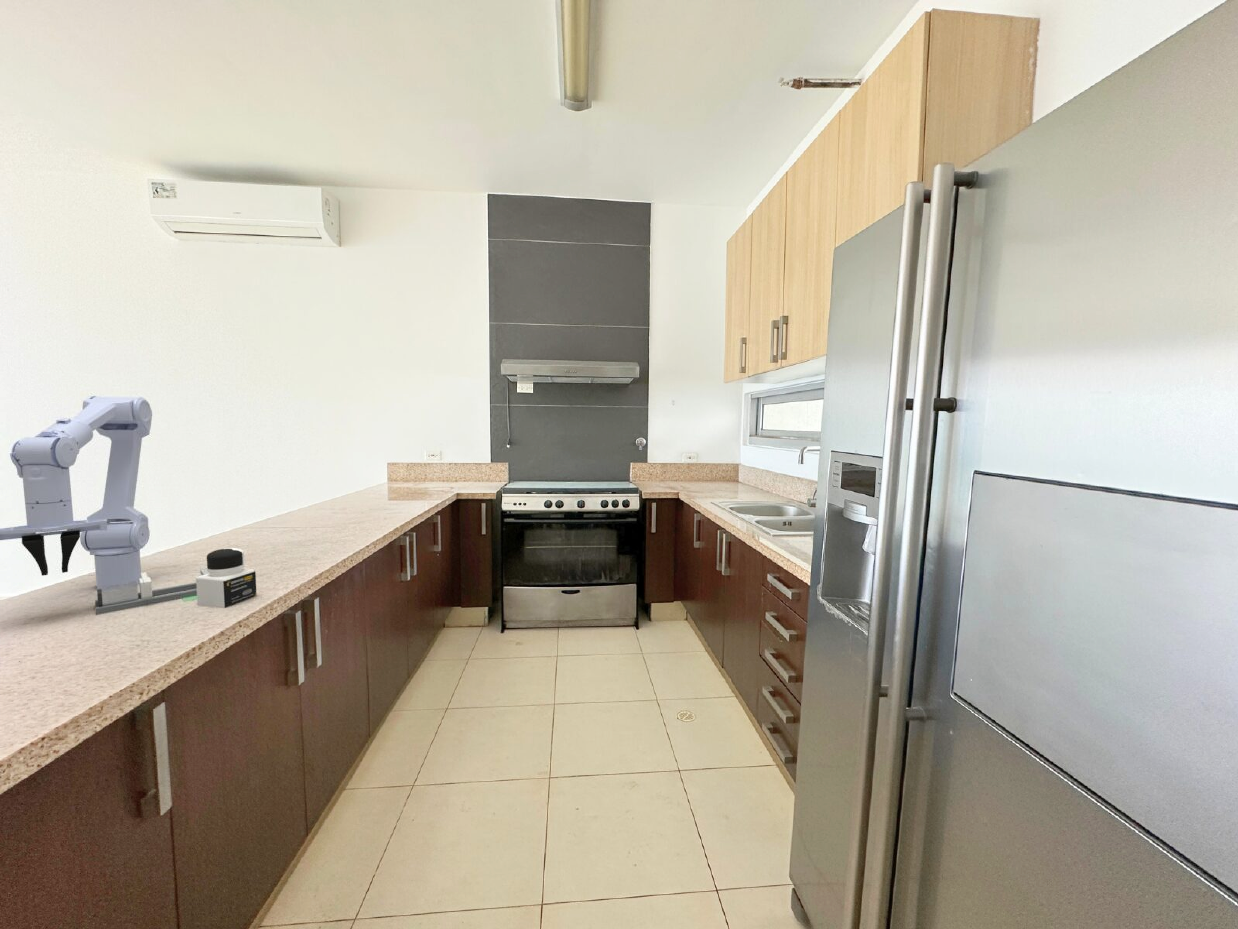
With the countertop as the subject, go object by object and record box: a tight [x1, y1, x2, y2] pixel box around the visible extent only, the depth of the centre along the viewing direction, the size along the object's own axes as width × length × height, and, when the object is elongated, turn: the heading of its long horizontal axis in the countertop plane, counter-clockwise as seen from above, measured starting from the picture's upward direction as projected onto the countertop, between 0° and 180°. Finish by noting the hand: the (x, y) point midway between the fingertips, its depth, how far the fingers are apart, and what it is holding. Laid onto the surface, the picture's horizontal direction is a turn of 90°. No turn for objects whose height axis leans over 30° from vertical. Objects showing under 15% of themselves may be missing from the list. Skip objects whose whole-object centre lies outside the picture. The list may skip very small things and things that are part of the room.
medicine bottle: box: [195, 547, 258, 609], centre depth 103 cm, size 7×7×12 cm
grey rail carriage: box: [96, 581, 139, 607], centre depth 100 cm, size 4×6×4 cm
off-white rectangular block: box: [138, 571, 153, 600], centre depth 103 cm, size 9×2×5 cm, turn 47°
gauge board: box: [94, 568, 208, 616], centre depth 104 cm, size 12×18×5 cm, turn 137°
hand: (55, 572), depth 93 cm, fingers closed
